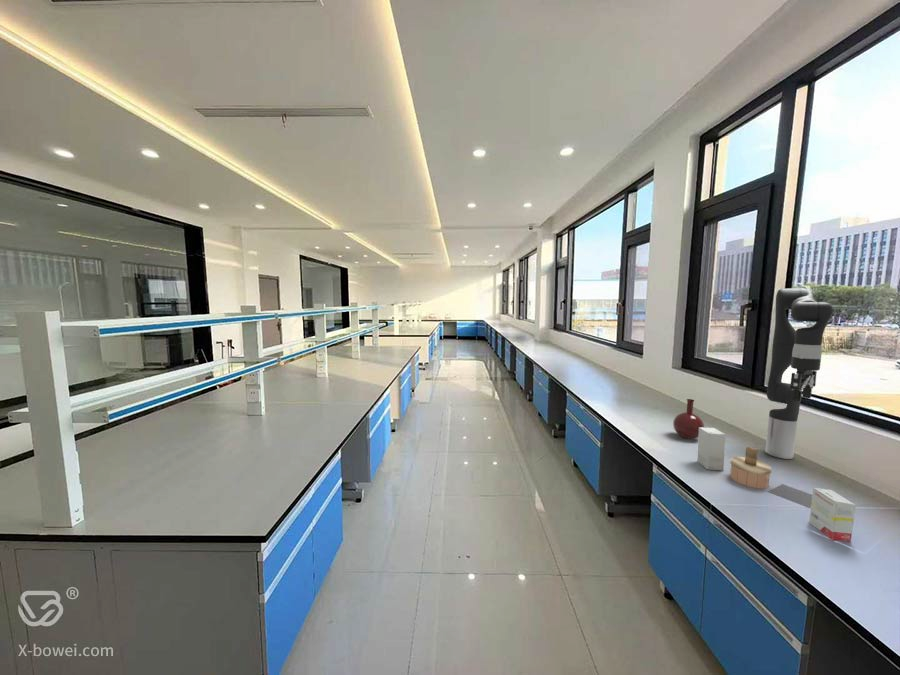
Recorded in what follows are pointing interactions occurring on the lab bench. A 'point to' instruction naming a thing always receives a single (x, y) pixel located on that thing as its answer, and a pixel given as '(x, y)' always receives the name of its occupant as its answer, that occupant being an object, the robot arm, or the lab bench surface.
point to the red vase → (688, 422)
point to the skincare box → (711, 448)
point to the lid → (751, 462)
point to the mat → (793, 495)
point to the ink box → (832, 514)
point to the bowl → (749, 478)
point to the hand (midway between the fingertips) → (801, 399)
